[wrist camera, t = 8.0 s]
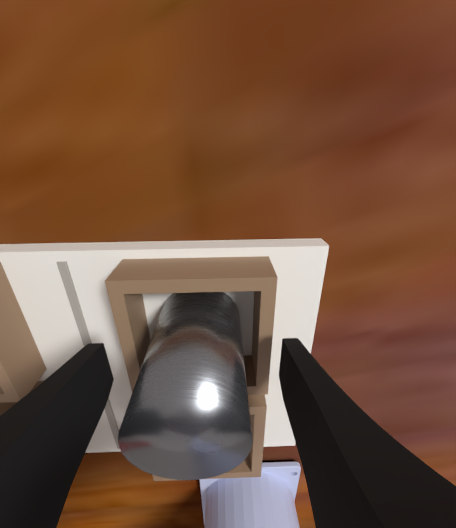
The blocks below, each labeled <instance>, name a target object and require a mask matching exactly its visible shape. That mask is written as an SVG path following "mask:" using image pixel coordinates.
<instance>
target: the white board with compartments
mask: <svg viewBox="0 0 456 528" xmlns="http://www.w3.org/2000/svg"><path fill="white" fill-rule="evenodd" d="M328 250H329V245H328V244H327V243H326V242H325V241H324V240H322V239H321V238H314V239H259V240H205V241H150V242H95V243H41V244H0V415H2V414H3V413H4V412H6V411H7V410H8V409H10V408H11V407H12V406H13V405H15V404H16V403H17V402H18V401H20V400H21V399H22V398H23V397H25V396H26V395H27V394H29V393H30V392H31V391H32V390H34V389H35V388H36V387H37V386H39V385H40V384H41V383H42V382H43V381H44V380H46V379H47V378H48V377H49V376H50V375H52V374H53V373H54V372H55V371H56V370H58V369H59V368H60V367H61V366H62V365H63V364H65V363H66V362H67V361H68V360H69V359H70V358H71V357H73V356H74V355H75V354H76V353H77V352H79V351H80V350H81V349H82V348H83V347H85V346H86V345H87V344H89V343H104V346H105V350H106V353H107V357H108V361H109V364H110V368H111V371H112V375H113V378H114V381H113V384H112V388H111V391H110V394H109V397H108V400H107V403H106V406H105V409H104V411H103V413H102V416H101V418H100V420H99V422H98V425H97V427H96V429H95V432H94V434H93V436H92V438H91V440H90V443H89V445H88V447H87V449H86V452H85V453H93V452H121V450H120V448H119V444H118V433H119V429H120V427H121V424H122V421H123V418H124V415H125V412H126V409H127V407H128V404H129V401H130V398H131V395H132V392H133V389H134V387H135V384H136V381H137V378H138V375H139V372H140V369H141V367H142V364H143V361H144V358H145V355H146V352H147V349H148V347H149V344H150V341H151V338H152V335H153V332H154V329H155V326H156V324H157V321H158V318H159V315H160V312H161V309H162V307H163V304H164V303H165V301H166V300H167V298H168V297H169V296H170V295H171V294H173V293H193V292H224V293H226V294H227V295H228V296H230V297H231V298H232V300H233V301H234V302H235V304H236V306H237V308H238V311H239V317H240V326H241V335H242V345H243V354H244V364H245V373H246V382H247V392H248V401H249V411H250V420H251V430H252V439H253V443H252V448H251V451H250V453H249V455H248V456H247V457H246V459H245V460H244V461H243V462H242V463H241V464H240V465H238V466H237V467H235V468H234V469H232V470H230V471H228V472H226V473H224V474H221V475H218V476H215V477H211V478H205V479H220V478H247V477H261V470H262V458H263V447H266V446H295V438H294V435H293V432H292V428H291V425H290V421H289V418H288V415H287V411H286V408H285V404H284V401H283V396H282V390H281V385H280V379H279V367H280V358H281V348H282V339H283V338H298V339H299V340H300V341H301V342H302V344H303V345H304V346H305V347H306V349H307V350H308V351H309V352H310V354H311V349H312V343H313V337H314V331H315V326H316V320H317V314H318V308H319V302H320V296H321V291H322V285H323V279H324V273H325V267H326V262H327V256H328ZM152 475H153V474H152ZM153 479H154V481H166V480H176V479H168V478H163V477H159V476H156V475H153Z"/></svg>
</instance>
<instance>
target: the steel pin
mask: <svg viewBox="0 0 456 528" xmlns="http://www.w3.org/2000/svg"><path fill="white" fill-rule="evenodd" d="M252 443H253V439H252V430H251V420H250V411H249V401H248V392H247V382H246V373H245V364H244V354H243V345H242V335H241V326H240V317H239V311H238V308H237V306H236V304H235V302H234V301H233V300H232V298H231V297H230V296H228V295H227V294H226V293H224V292H193V293H173V294H171V295H170V296H169V297H168V298H167V300H166V301H165V303H164V304H163V307H162V309H161V312H160V315H159V318H158V321H157V324H156V326H155V329H154V332H153V335H152V338H151V341H150V344H149V347H148V349H147V352H146V355H145V358H144V361H143V364H142V367H141V369H140V372H139V375H138V378H137V381H136V384H135V387H134V389H133V392H132V395H131V398H130V401H129V404H128V407H127V409H126V412H125V415H124V418H123V421H122V424H121V427H120V429H119V433H118V444H119V448H120V450H121V452H122V454H123V455H124V456H125V458H126V459H127V460H128V461H129V462H131V463H132V464H133V465H134V466H136V467H138V468H139V469H141V470H143V471H145V472H147V473H150V474H153V475H156V476H159V477H163V478H168V479H176V480H198V479H205V478H211V477H215V476H218V475H221V474H224V473H226V472H228V471H230V470H232V469H234V468H235V467H237V466H238V465H240V464H241V463H242V462H243V461H244V460H245V459H246V457H247V456H248V455H249V453H250V451H251V448H252Z"/></svg>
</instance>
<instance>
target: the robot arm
mask: <svg viewBox="0 0 456 528" xmlns="http://www.w3.org/2000/svg"><path fill="white" fill-rule="evenodd" d="M279 379H280V385H281V390H282V396H283V401H284V404H285V408H286V411H287V415H288V418H289V421H290V425H291V428H292V432H293V435H294V438H295V442H296V445H297V448H298V452H299V455H300V459H301V462H302V466H303V470H304V474H305V478H306V482H307V487H308V492H309V496H310V501H311V506H312V511H313V516H314V521H315V526H316V528H456V486H455V485H453V484H452V483H451V482H449V481H448V480H446V479H445V478H444V477H442V476H441V475H440V474H438V473H437V472H436V471H434V470H433V469H432V468H430V467H429V466H428V465H426V464H425V463H424V462H423V461H421V460H420V459H419V458H418V457H416V456H415V455H414V454H413V453H411V452H410V451H409V450H407V449H406V448H405V447H404V446H402V445H401V444H400V443H399V442H397V441H396V440H395V439H394V438H393V437H392V436H390V435H389V434H388V433H387V432H386V431H385V430H383V429H382V428H381V427H380V426H379V425H378V424H377V423H376V422H375V421H373V420H372V419H371V418H370V417H369V416H368V415H367V414H366V413H365V412H364V411H363V410H362V409H361V408H360V407H359V406H358V405H357V404H356V403H355V402H354V401H353V400H352V399H351V398H350V397H349V396H348V395H347V394H346V393H345V392H344V391H343V390H342V389H341V388H340V387H339V386H338V385H337V384H336V383H335V382H334V380H333V379H332V378H331V377H330V376H329V375H328V374H327V373H326V372H325V370H324V369H323V368H322V367H321V366H320V365H319V363H318V362H317V361H316V360H315V359H314V357H313V356H312V355H311V354H310V352H309V351H308V350H307V349H306V347H305V346H304V345H303V344H302V342H301V341H300V340H299V339H298V338H283V339H282V348H281V358H280V367H279ZM113 381H114V378H113V375H112V371H111V368H110V364H109V361H108V357H107V353H106V350H105V346H104V343H89V344H87V345H86V346H85V347H83V348H82V349H81V350H80V351H79V352H77V353H76V354H75V355H74V356H73V357H71V358H70V359H69V360H68V361H67V362H66V363H65V364H63V365H62V366H61V367H60V368H59V369H58V370H56V371H55V372H54V373H53V374H52V375H50V376H49V377H48V378H47V379H46V380H44V381H43V382H42V383H41V384H40V385H39V386H37V387H36V388H35V389H34V390H32V391H31V392H30V393H29V394H27V395H26V396H25V397H23V398H22V399H21V400H20V401H18V402H17V403H16V404H15V405H13V406H12V407H11V408H10V409H8V410H7V411H6V412H4V413H3V414H2V415H0V528H56V527H57V524H58V521H59V518H60V515H61V512H62V509H63V507H64V504H65V501H66V498H67V495H68V492H69V490H70V487H71V484H72V482H73V479H74V477H75V474H76V472H77V469H78V467H79V465H80V463H81V461H82V458H83V456H84V454H85V452H86V449H87V447H88V445H89V443H90V440H91V438H92V436H93V434H94V432H95V429H96V427H97V425H98V422H99V420H100V418H101V416H102V413H103V411H104V409H105V406H106V403H107V400H108V397H109V394H110V391H111V388H112V384H113ZM300 471H301V467H300V464H299V463H298V462H295V461H291V462H263V463H262V470H261V477H247V478H220V479H199V481H200V490H201V500H202V509H203V518H204V525H205V528H299V523H298V518H297V513H296V508H295V503H294V501H295V496H296V491H297V486H298V481H299V476H300Z"/></svg>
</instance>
